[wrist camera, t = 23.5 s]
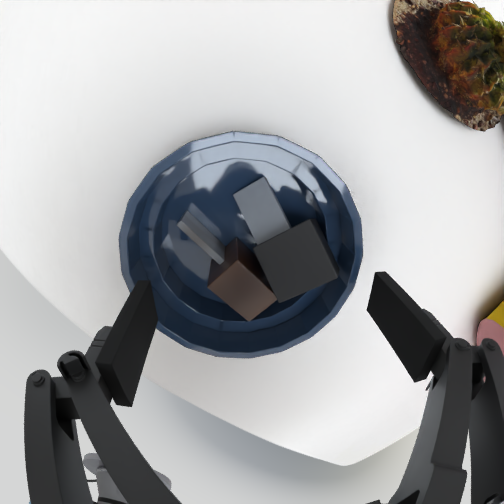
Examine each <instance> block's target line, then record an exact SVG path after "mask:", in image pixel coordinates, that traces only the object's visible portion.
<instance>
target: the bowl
mask: <svg viewBox="0 0 504 504" xmlns="http://www.w3.org/2000/svg"><path fill="white" fill-rule="evenodd" d="M262 177H266V178H267V180H268V182H269V184H270V186H271V188H272V190H273V192H274V194H275V196H276V198H277V199H278V201H279V203H280V205H281V207H282V209H283V211H284V213H285V215H286V217H287V219H288V221H289V223H290V225H291V227H294V226H296V225H298V224H300V223H302V222H304V221H306V220H308V219H316V220H317V222H318V224H319V226H320V228H321V230H322V232H323V235H324V237H325V239H326V241H327V243H328V245H329V247H330V249H331V251H332V253H333V256H334V258H335V260H336V262H337V264H338V266H339V269H340V270H339V274H338V278H337V279H334V280H332V281H330V282H328V283H325V284H323V285H321V286H319V287H316V288H314V289H312V290H309V291H307V292H305V293H302V294H300V295H298V296H295V297H293V298H291V299H288V300H286V301H283V302H281V303H279V302H278V300H276V301H275V302H274V303H272V304H271V305H270V306H269V307H267V308H266V309H265V310H264V311H262V312H261V313H260V314H259V315H257V316H256V317H255V318H253V319H252V320H251V321H247V320H246V319H245V318H244V317H242V316H241V315H240V314H239V313H237V312H236V311H235V310H234V309H233V308H231V307H230V306H229V305H228V304H226V303H225V302H224V301H223V300H222V299H220V298H219V297H218V296H217V295H216V294H214V293H213V292H212V291H211V290H210V289H208V288H207V284H208V277H209V271H210V264H211V260H212V259H213V258H212V257H210V256H209V255H208V254H207V253H206V252H205V251H204V250H203V249H202V248H201V247H199V246H198V245H197V244H196V243H195V242H194V241H193V240H192V239H191V238H190V237H189V236H187V235H186V234H185V233H184V232H183V231H182V230H181V229H180V228H179V227H178V226H177V223H178V222H179V220H180V219H181V217H182V215H183V214H184V213H185V212H186V211H189V212H190V213H191V214H192V215H193V216H194V217H195V218H196V219H197V220H198V221H199V222H200V223H201V224H202V225H203V226H204V227H205V228H207V229H208V230H209V231H210V232H211V233H212V234H213V235H214V236H215V237H216V238H217V239H218V240H219V241H220V242H221V243H222V244H224V245H225V247H226V246H227V245H228V244H229V243H230V242H231V241H232V240H233V239H234V238H236V237H238V238H239V239H240V240H241V241H242V242H243V243H244V244H245V245H246V246H247V247H248V248H249V249H250V250H251V251H252V252H253V253H254V251H253V247H255V246H257V243H256V241H255V239H254V237H253V235H252V233H251V231H250V229H249V227H248V225H247V223H246V221H245V219H244V217H243V215H242V213H241V211H240V209H239V206H238V204H237V202H236V200H235V198H234V196H233V194H235V193H237V192H238V191H240V190H242V189H243V188H245V187H247V186H248V185H250V184H252V183H254V182H255V181H257V180H259V179H260V178H262ZM119 249H120V261H121V271H122V275H123V278H124V280H125V282H126V285H127V287H128V289H129V291H130V293H131V292H132V290H133V288H134V286H135V285H136V283H137V281H138V280H150V281H151V286H152V292H153V297H154V302H155V307H156V311H157V316H158V323H157V326H156V328H157V329H158V330H159V331H160V332H162V333H163V334H165V335H167V336H168V337H170V338H171V339H173V340H175V341H176V342H178V343H179V344H181V345H183V346H184V347H186V348H189V349H192V350H195V351H199V352H202V353H205V354H209V355H212V356H215V357H217V356H218V357H226V358H255V357H260V356H265V355H269V354H274V353H279V352H282V351H285V350H287V349H289V348H291V347H293V346H295V345H297V344H299V343H301V342H303V341H305V340H307V339H309V338H311V337H312V336H314V335H315V334H316V333H317V332H318V331H319V330H321V329H322V328H323V327H324V326H325V325H326V324H327V323H329V322H330V321H331V320H332V319H333V318H334V317H335V316H336V315H337V314H338V312H339V311H340V309H341V308H342V306H343V305H344V303H345V301H346V300H347V298H348V297H349V295H350V294H351V292H352V290H353V289H354V286H355V283H356V280H357V276H358V272H359V269H360V265H361V261H362V258H363V241H362V225H361V218H360V216H359V213H358V211H357V208H356V206H355V204H354V201H353V199H352V197H351V194H350V192H349V190H348V187H347V186H346V184H345V183H344V182H343V181H342V179H341V178H340V177H339V176H338V175H337V174H336V173H335V172H334V171H333V170H332V169H331V168H330V167H329V166H328V165H327V163H326V162H325V161H324V160H323V159H322V158H321V157H320V156H318V155H317V154H315V153H313V152H311V151H309V150H307V149H305V148H303V147H301V146H299V145H297V144H295V143H293V142H291V141H289V140H287V139H285V138H283V137H281V136H277V135H269V134H260V133H251V132H240V131H234V132H233V131H231V132H227V133H222V134H218V135H214V136H210V137H206V138H202V139H198V140H195V141H191V142H189V143H187V144H185V145H184V146H182V147H181V148H179V149H178V150H176V151H175V152H173V153H172V154H170V155H169V156H167V157H166V158H164V159H163V160H161V161H160V162H159V163H157V164H156V165H154V166H153V167H152V168H151V169H150V171H149V172H148V173H147V175H146V176H145V178H144V179H143V180H142V182H141V183H140V185H139V186H138V187H137V189H136V190H135V192H134V193H133V195H132V196H131V198H130V199H129V201H128V204H127V207H126V211H125V215H124V218H123V222H122V226H121V230H120V234H119ZM254 254H255V253H254Z"/></svg>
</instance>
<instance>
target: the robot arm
mask: <svg viewBox="0 0 504 504" xmlns="http://www.w3.org/2000/svg"><path fill="white" fill-rule="evenodd" d="M367 311H368V313H369V314H370V316H371V317H372V318H373V320H374V321H375V323H376V324H377V326H378V327H379V329H380V330H381V332H382V333H383V335H384V336H385V338H386V339H387V341H388V342H389V344H390V345H391V347H392V348H393V350H394V351H395V353H396V354H397V356H398V357H399V359H400V360H401V362H402V363H403V365H404V367H405V368H406V370H407V371H408V373H409V375H410V376H411V378H412V379H413V381H414V383H415V382H418V381H421V380H424V379H426V378H427V376H428V374H429V372H430V371H431V372H432V373H433V374H434V376H433V377H432V379H431V381H430V383H429V384H428V386H427V388H426V390H428V388H429V387H430V388H429V393H428V398H427V402H426V406H425V410H424V414H423V418H422V422H421V426H420V429H419V433H418V436H417V439H416V443H415V446H414V449H413V452H412V455H411V458H410V460H409V463H408V466H407V469H406V471H405V474H404V476H403V479H402V481H401V484H400V486H399V488H398V490H397V491H396V493H395V494H394V495H393V497H392V498H391V499H390V501H389V503H388V504H460V502H461V498H462V495H463V491H464V487H465V483H466V478H467V472H466V470H463V469H462V463H463V458H464V453H465V448H466V442H467V435H468V428H469V438H470V452H471V504H504V355H503V353H502V351H501V348H500V346H499V344H498V343H497V342H496V341H495V340H493V339H490V338H484V339H483V340H482V342H481V344H480V346H471V345H470V344H469V343H468V342H467V341H466V340H464V339H462V338H453V337H452V336H451V334H450V333H449V332H448V331H447V330H446V329H445V328H444V327H443V325H442V324H440V322H439V321H438V320H436V318H435V317H434V316H433V315H432V314H431V313H430V312H428V311H427V310H425V309H421V308H420V307H419V306H418V304H417V303H416V302H415V301H414V300H413V299H412V298H411V297H410V296H409V295H408V294H407V293H406V292H405V291H404V290H403V289H402V288H401V287H400V286H399V285H398V284H397V283H396V282H395V281H394V280H393V279H392V278H391V277H390V276H389V275H388V274H387V273H386V272H375V275H374V280H373V285H372V289H371V294H370V298H369V302H368V307H367ZM157 323H158V316H157V311H156V307H155V302H154V297H153V292H152V286H151V281H150V280H138V281H137V283H136V285H135V286H134V288H133V290H132V292H131V293H130V295H129V297H128V299H127V301H126V302H125V304H124V306H123V308H122V310H121V312H120V313H119V315H118V317H117V319H116V321H115V323H114V325H113V327H110V326H104V327H103V328H102V329H101V330H99V331H98V332H97V334H96V336H95V338H94V341H92V343H91V346H90V347H89V349H88V351H87V352H86V354H85V355H84V354H83V353H82V352H80V351H69V352H66V353H65V354H63V355H62V356H61V357H60V358H59V360H58V362H57V367H58V369H59V371H60V372H61V374H62V377H51V376H50V374H49V373H48V372H47V371H46V370H37V371H35V372H33V373H31V374H30V375H29V377H28V379H27V382H26V394H25V413H24V415H25V416H24V443H25V461H26V472H27V481H28V489H29V495H30V502H29V504H182V503H181V502H180V501H179V500H178V499H177V498H176V497H175V496H174V494H173V493H172V492H171V491H170V490H169V489H168V487H167V486H166V485H165V484H164V483H163V481H162V480H161V479H160V478H159V476H158V475H157V474H156V473H155V471H154V470H153V469H152V468H151V466H150V465H149V464H148V462H147V461H146V460H145V458H144V457H143V455H142V454H141V453H140V451H139V450H138V448H137V447H136V446H135V444H134V442H133V441H132V439H131V438H130V436H129V435H128V433H127V432H126V430H125V429H124V427H123V426H122V424H121V422H120V421H119V419H118V417H117V416H116V414H115V412H114V411H113V409H112V407H111V405H110V402H111V400H112V398H113V400H114V402H115V403H116V405H121V406H127V407H132V404H133V401H134V397H135V394H136V390H137V387H138V383H139V380H140V376H141V373H142V370H143V366H144V363H145V360H146V357H147V353H148V350H149V347H150V344H151V341H152V338H153V335H154V332H155V329H156V326H157ZM484 377H485V382H484ZM75 419H81V421H82V424H83V425H84V428H85V430H86V432H87V434H88V436H89V438H90V440H91V442H92V444H93V446H94V448H95V450H96V452H97V454H98V456H99V458H100V459H101V461H102V463H103V465H104V466H101V467H98V468H97V471H96V477H97V480H87V479H86V475H85V471H84V466H83V462H82V457H81V452H80V447H79V441H78V435H77V429H76V422H75ZM87 482H97V485H98V491H99V497H98V502H97V503H96V502H94V501H92V497H91V494H90V491H89V487H88V483H87ZM367 504H381V503H380V500H377V501H373V502H370V503H367Z"/></svg>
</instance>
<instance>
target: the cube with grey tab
mask: <svg viewBox="0 0 504 504" xmlns="http://www.w3.org/2000/svg"><path fill="white" fill-rule="evenodd" d="M233 196H234V198H235V200H236V202H237V204H238V206H239V209H240V211H241V213H242V215H243V217H244V219H245V221H246V223H247V225H248V227H249V229H250V231H251V233H252V235H253V237H254V239H255V241H256V243H257V246H255V247H253V251H254V253H255V255H256V257H257V259H258V261H259V263H260V265H261V267H262V269H263V271H264V273H265V275H266V277H267V279H268V282H269V284H270V286H271V288H272V290H273V292H274V294H275V296H276V298H277V300H278V302H279V303H281V302H283V301H286V300H288V299H291V298H293V297H295V296H298V295H300V294H302V293H305V292H307V291H309V290H312V289H314V288H316V287H319V286H321V285H323V284H325V283H328V282H330V281H332V280H334V279H337V278H338V274H339V270H340V269H339V266H338V264H337V262H336V260H335V258H334V256H333V253H332V251H331V249H330V247H329V245H328V243H327V241H326V239H325V237H324V235H323V232H322V230H321V228H320V226H319V224H318V222H317V220H316V219H308V220H306V221H304V222H302V223H300V224H298V225H296V226H294V227H291V225H290V223H289V221H288V219H287V217H286V215H285V213H284V211H283V209H282V207H281V205H280V203H279V201H278V199H277V198H276V196H275V194H274V192H273V190H272V188H271V186H270V184H269V182H268V180H267V178H266V177H262V178H260V179H259V180H257V181H255V182H254V183H252V184H250V185H248V186H247V187H245V188H243V189H242V190H240V191H238V192H237V193H235V194H233Z"/></svg>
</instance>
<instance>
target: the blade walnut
mask: <svg viewBox="0 0 504 504" xmlns="http://www.w3.org/2000/svg"><path fill="white" fill-rule="evenodd" d="M177 226H178V227H179V228H180V229H181V230H182V231H183V232H184V233H185V234H186V235H187V236H189V237H190V238H191V239H192V240H193V241H194V242H195V243H196V244H197V245H198V246H199V247H201V248H202V249H203V250H204V251H205V252H206V253H207V254H208V255H209V256H210V257H212V258H213V259H212V260H211V264H210V271H209V277H208V284H207V288H208V289H210V290H211V291H212V292H213V293H214V294H216V295H217V296H218V297H219V298H220V299H222V300H223V301H224V302H225V303H226V304H228V305H229V306H230V307H231V308H233V309H234V310H235V311H236V312H237V313H239V314H240V315H241V316H242V317H244V318H245V319H246V320H247V321H251V320H252V319H253V318H255V317H256V316H257V315H259V314H260V313H261V312H262V311H264V310H265V309H266V308H267V307H269V306H270V305H271V304H272V303H274V302H275V301H276V300H277V298H276V296H275V294H274V292H273V290H272V288H271V286H270V284H269V282H268V279H267V277H266V275H265V273H264V271H263V269H262V267H261V265H260V263H259V261H258V259H257V257H256V255H255V254H254V253H253V252H252V251H251V250H250V249H249V248H248V247H247V246H246V245H245V244H244V243H243V242H242V241H241V240H240V239H239V238H238V237H236V238H234V239H233V240H232V241H231V242H230V243H229V244H228V245H227V246H226V247H225V245H224V244H222V243H221V242H220V241H219V240H218V239H217V238H216V237H215V236H214V235H213V234H212V233H211V232H210V231H209V230H208V229H207V228H205V227H204V226H203V225H202V224H201V223H200V222H199V221H198V220H197V219H196V218H195V217H194V216H193V215H192V214H191V213H190V212H189V211H186V212H185V213H184V214H183V215H182V217H181V219H180V220H179V222H178V223H177Z"/></svg>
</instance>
